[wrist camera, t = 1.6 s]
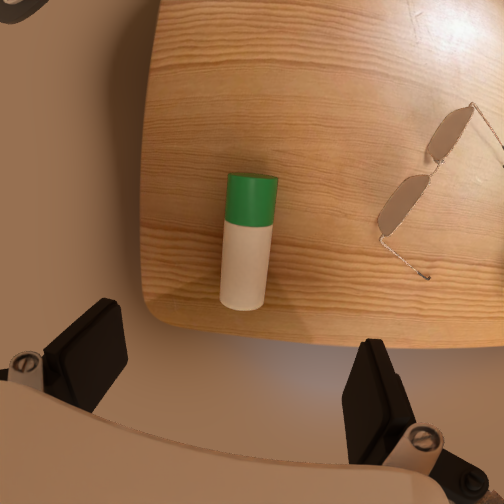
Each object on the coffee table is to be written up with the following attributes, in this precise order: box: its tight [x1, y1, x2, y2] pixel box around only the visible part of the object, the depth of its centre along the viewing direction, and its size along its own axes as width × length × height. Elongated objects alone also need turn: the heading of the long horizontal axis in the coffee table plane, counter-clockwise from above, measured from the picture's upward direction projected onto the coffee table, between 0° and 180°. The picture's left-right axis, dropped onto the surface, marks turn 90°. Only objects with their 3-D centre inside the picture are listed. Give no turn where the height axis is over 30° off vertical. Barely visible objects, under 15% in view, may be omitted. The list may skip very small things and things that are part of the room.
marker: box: [220, 172, 278, 311], centre depth 23 cm, size 10×4×4 cm, turn 175°
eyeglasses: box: [378, 102, 504, 280], centre depth 20 cm, size 14×8×4 cm, turn 146°
